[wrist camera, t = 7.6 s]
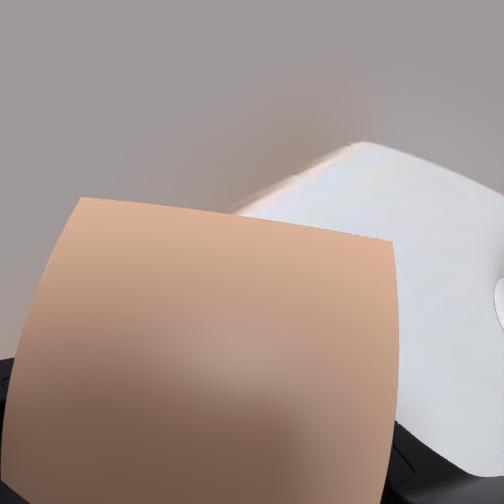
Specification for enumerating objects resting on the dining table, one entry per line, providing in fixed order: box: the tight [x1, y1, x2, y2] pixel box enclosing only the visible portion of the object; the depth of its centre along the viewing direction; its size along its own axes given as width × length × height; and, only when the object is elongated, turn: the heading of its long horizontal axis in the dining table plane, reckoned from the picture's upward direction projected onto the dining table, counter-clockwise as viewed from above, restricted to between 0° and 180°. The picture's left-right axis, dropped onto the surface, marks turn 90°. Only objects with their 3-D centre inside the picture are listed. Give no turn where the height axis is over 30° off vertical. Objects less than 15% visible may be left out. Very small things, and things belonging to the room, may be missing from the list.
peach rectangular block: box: [1, 197, 399, 504], centre depth 8 cm, size 5×5×12 cm
